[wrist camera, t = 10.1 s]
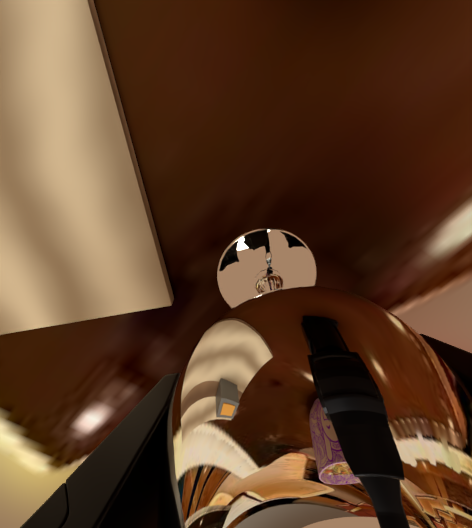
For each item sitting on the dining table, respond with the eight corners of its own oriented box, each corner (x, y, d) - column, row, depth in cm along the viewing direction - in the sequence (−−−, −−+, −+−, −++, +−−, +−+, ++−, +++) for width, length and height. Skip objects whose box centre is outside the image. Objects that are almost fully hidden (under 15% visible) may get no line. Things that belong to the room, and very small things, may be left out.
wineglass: (258, 353, 16) (326, 842, 5) (175, 271, 15) (-18, 703, 3) (356, 280, 15) (758, 707, 4) (276, 182, 13) (527, 381, 2)
